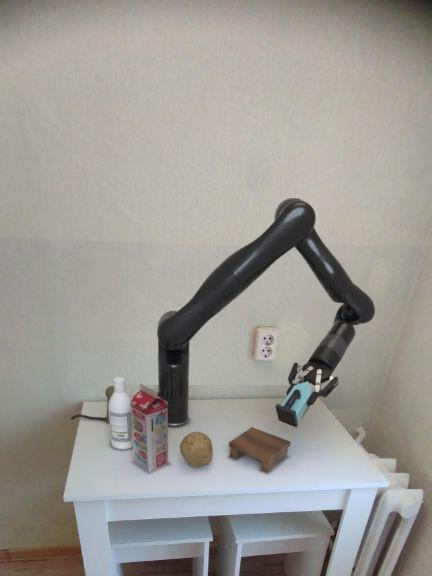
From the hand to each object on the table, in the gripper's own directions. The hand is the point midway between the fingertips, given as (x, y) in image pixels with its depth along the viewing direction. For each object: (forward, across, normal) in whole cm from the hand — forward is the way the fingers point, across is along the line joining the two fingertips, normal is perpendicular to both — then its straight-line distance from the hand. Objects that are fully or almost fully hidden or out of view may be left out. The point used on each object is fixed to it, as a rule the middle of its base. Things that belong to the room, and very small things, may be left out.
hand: (298, 400), depth 125 cm
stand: (+16, -5, +10) cm, 19 cm away
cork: (+27, -51, +6) cm, 58 cm away
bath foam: (+34, -38, 0) cm, 51 cm away
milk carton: (+35, -26, -2) cm, 44 cm away
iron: (0, 0, +3) cm, 3 cm away
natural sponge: (+29, -16, +2) cm, 33 cm away
